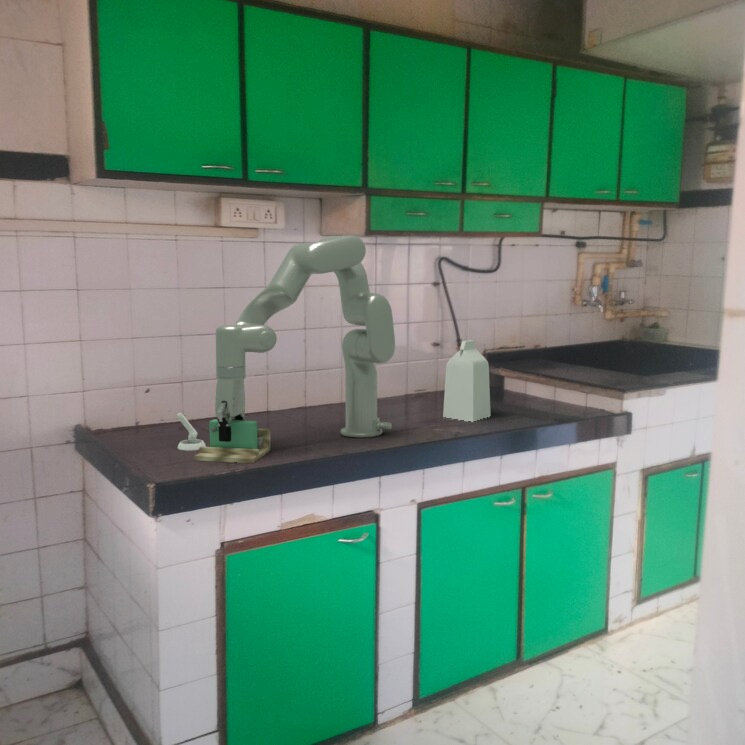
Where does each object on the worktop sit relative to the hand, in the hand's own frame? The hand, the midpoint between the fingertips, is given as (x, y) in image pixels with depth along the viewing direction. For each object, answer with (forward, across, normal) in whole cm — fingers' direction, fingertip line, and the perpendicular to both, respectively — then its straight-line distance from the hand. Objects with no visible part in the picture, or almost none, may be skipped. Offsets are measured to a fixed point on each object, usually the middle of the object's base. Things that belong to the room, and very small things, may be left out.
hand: (232, 437), depth 191 cm
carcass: (+5, 0, 0) cm, 5 cm away
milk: (+4, -65, +58) cm, 88 cm away
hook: (+5, -8, -15) cm, 17 cm away
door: (+4, -1, 0) cm, 4 cm away
